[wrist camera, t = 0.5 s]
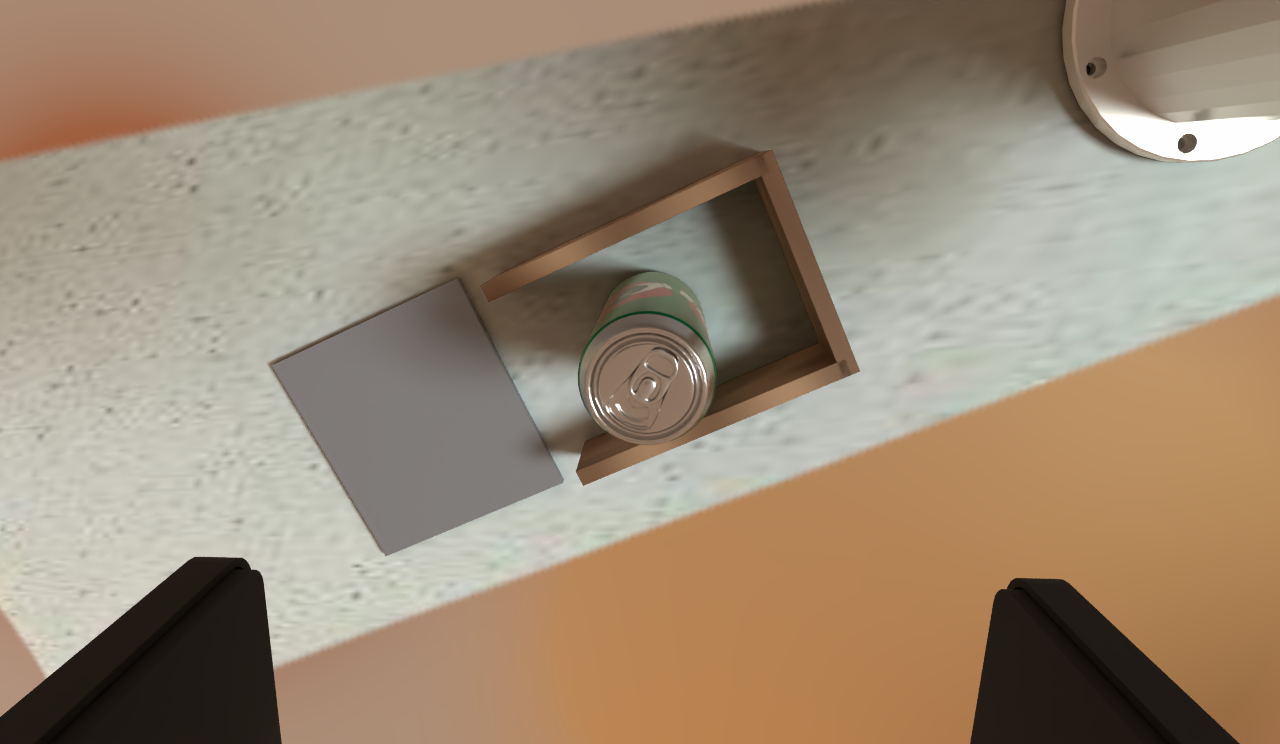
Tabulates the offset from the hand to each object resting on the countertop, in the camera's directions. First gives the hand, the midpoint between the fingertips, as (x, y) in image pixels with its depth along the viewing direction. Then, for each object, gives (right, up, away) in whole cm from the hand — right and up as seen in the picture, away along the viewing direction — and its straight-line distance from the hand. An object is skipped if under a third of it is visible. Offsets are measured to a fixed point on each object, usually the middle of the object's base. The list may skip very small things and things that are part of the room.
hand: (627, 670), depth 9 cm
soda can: (+1, +6, +28) cm, 29 cm away
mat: (-11, +1, +30) cm, 32 cm away
